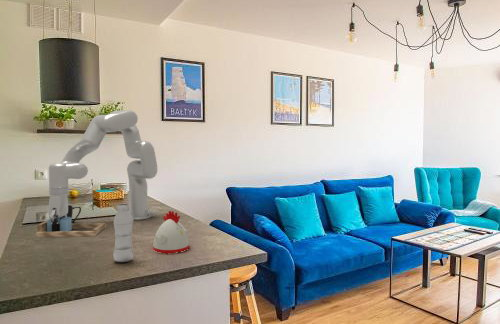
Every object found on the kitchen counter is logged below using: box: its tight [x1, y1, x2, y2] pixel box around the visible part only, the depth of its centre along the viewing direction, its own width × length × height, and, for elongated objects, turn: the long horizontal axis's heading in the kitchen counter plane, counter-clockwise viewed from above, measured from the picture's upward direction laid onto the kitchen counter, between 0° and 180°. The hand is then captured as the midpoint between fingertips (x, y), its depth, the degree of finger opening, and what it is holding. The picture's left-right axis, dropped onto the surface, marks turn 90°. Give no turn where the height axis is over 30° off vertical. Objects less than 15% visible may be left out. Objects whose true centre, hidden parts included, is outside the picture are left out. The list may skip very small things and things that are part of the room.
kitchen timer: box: [152, 210, 190, 253], centre depth 141 cm, size 14×14×15 cm
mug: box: [55, 204, 82, 224], centre depth 178 cm, size 8×12×10 cm
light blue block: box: [46, 217, 73, 232], centre depth 160 cm, size 8×6×6 cm
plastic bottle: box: [112, 203, 134, 263], centre depth 125 cm, size 6×7×20 cm
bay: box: [35, 220, 107, 238], centre depth 161 cm, size 24×16×6 cm, turn 96°
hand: (59, 230), depth 160 cm, fingers open, 7 cm apart
